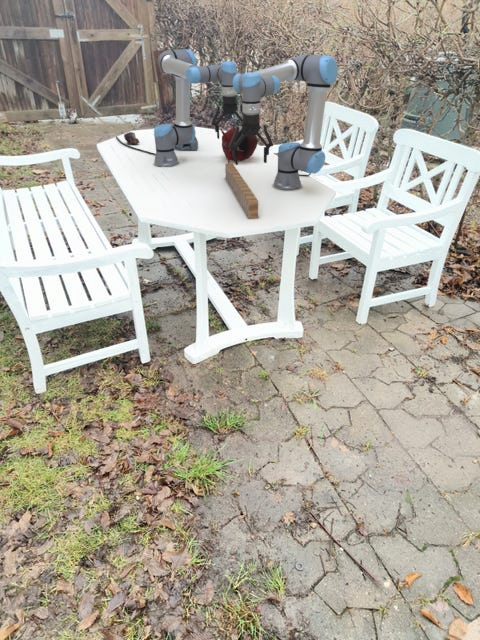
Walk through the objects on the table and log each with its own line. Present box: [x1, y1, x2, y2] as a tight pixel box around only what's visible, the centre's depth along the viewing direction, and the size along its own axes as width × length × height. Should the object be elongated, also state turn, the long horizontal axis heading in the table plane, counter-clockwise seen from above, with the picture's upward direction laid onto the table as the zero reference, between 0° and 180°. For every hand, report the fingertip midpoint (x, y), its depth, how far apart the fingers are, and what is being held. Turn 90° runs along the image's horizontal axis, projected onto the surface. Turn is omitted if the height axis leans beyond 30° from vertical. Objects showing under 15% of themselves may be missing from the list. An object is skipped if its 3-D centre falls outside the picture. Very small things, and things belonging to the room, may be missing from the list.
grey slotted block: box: [174, 136, 199, 151], centre depth 321 cm, size 17×18×20 cm
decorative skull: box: [220, 126, 259, 164], centre depth 296 cm, size 21×24×25 cm
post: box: [224, 162, 259, 219], centre depth 240 cm, size 65×4×8 cm, turn 11°
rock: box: [123, 131, 140, 145], centre depth 337 cm, size 12×9×10 cm
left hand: (230, 137), depth 250 cm, fingers open, 13 cm apart
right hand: (250, 163), depth 207 cm, fingers open, 13 cm apart
